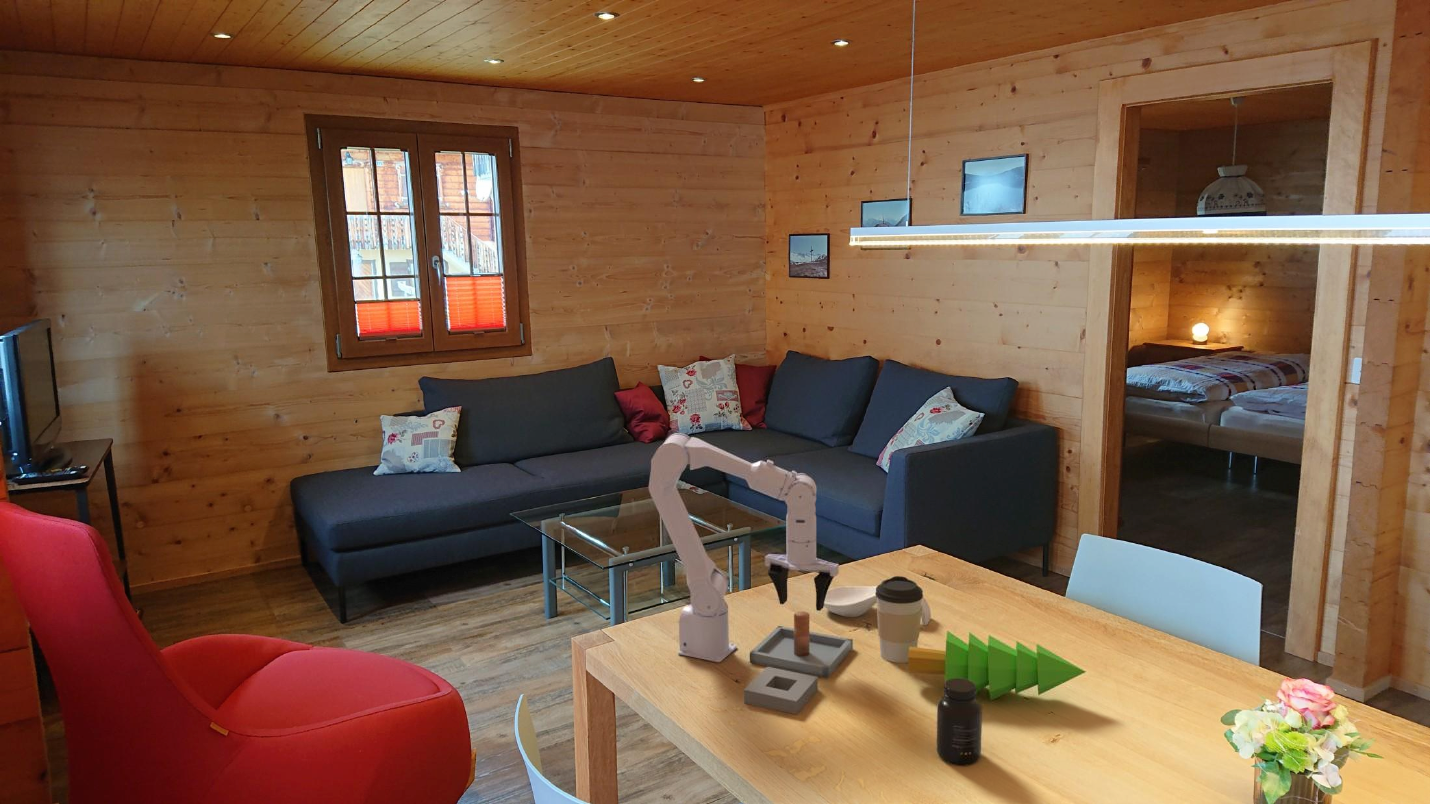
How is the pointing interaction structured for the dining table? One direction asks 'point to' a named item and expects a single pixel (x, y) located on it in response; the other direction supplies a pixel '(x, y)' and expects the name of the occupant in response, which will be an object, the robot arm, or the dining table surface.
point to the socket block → (781, 690)
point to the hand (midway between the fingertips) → (801, 605)
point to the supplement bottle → (959, 723)
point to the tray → (819, 662)
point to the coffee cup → (898, 617)
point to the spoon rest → (860, 601)
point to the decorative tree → (994, 665)
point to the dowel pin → (801, 633)
